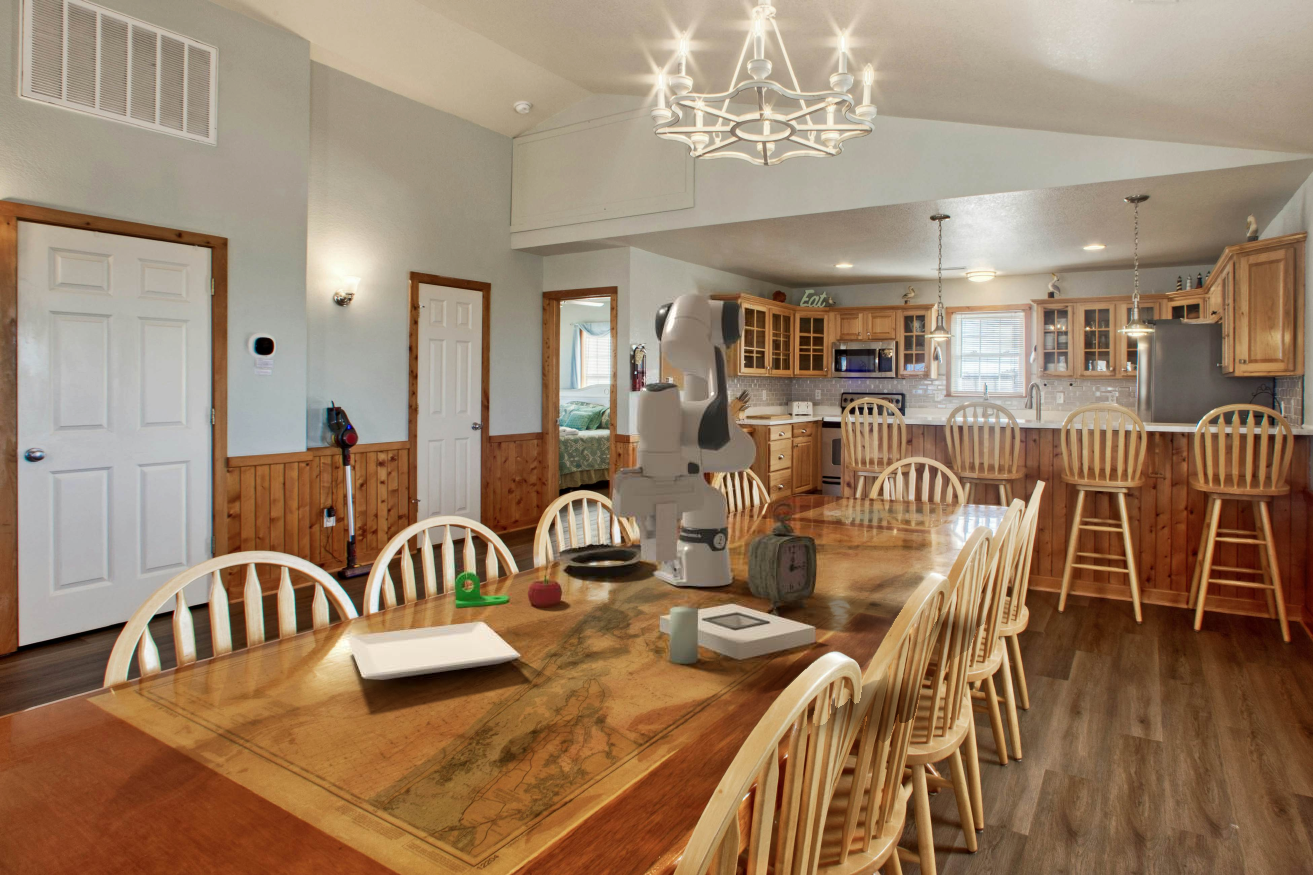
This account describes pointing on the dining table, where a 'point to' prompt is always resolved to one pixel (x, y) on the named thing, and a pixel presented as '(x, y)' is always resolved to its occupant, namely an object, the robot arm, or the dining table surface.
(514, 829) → the dining table surface
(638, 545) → the stone bowl
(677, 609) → the round peg
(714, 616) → the socket board
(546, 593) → the tomato
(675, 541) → the square peg
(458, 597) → the mechanical part
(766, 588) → the tabletop clock
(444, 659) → the plate
